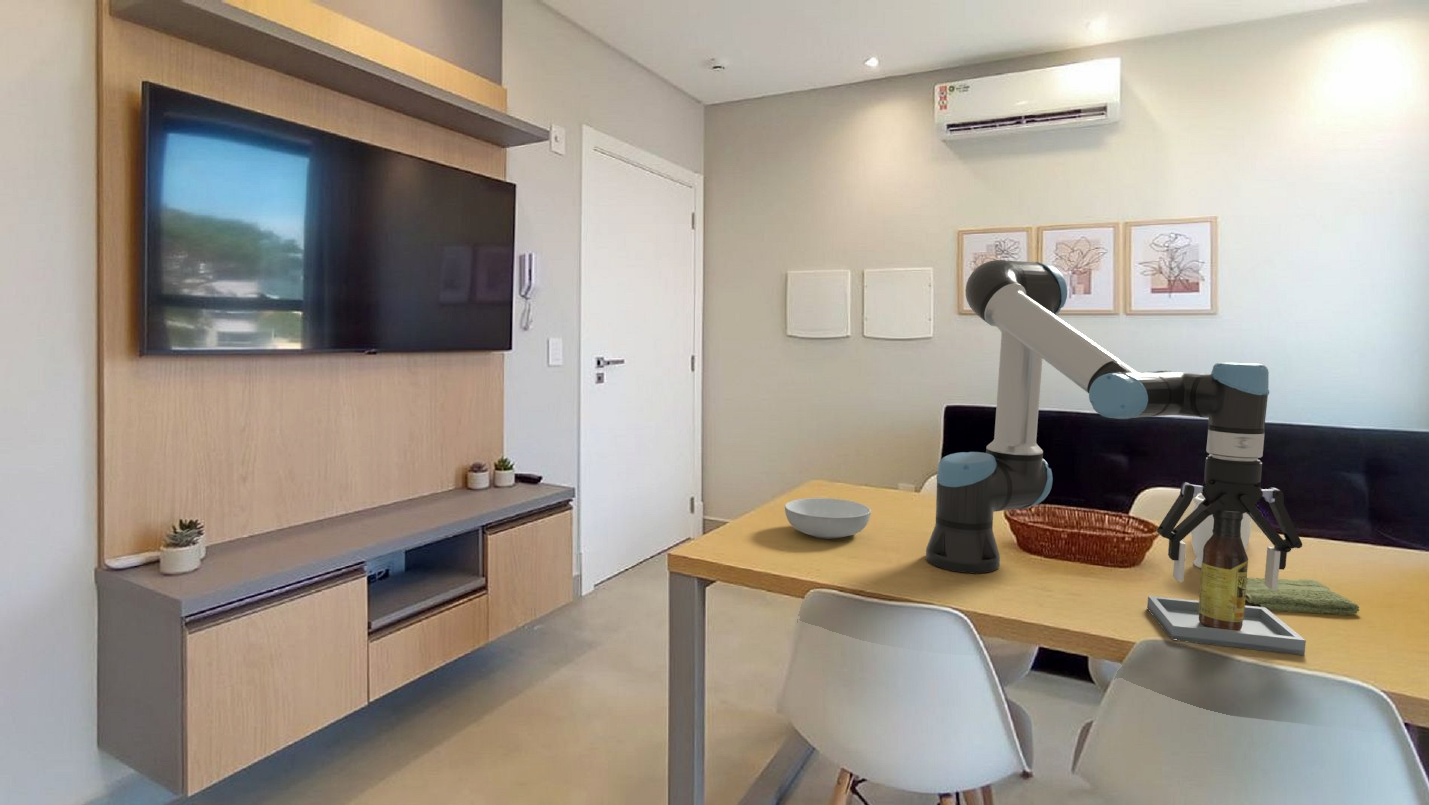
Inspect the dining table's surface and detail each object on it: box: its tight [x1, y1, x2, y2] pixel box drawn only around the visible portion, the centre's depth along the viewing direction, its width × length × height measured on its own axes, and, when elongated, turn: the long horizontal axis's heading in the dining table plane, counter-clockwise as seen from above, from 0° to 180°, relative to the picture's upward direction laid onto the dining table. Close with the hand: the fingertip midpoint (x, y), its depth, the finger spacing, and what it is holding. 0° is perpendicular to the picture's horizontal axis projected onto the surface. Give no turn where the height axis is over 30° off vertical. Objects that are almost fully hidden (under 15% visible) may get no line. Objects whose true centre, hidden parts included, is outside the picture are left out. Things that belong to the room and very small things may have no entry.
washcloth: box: [1245, 577, 1360, 616], centre depth 134 cm, size 13×18×3 cm
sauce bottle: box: [1198, 511, 1249, 631], centre depth 119 cm, size 6×6×20 cm
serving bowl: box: [784, 497, 872, 540], centre depth 176 cm, size 21×21×7 cm
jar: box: [1190, 493, 1252, 569], centre depth 152 cm, size 11×10×15 cm
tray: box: [1146, 595, 1307, 656], centre depth 120 cm, size 18×14×2 cm
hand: (1223, 583), depth 119 cm, fingers open, 13 cm apart
